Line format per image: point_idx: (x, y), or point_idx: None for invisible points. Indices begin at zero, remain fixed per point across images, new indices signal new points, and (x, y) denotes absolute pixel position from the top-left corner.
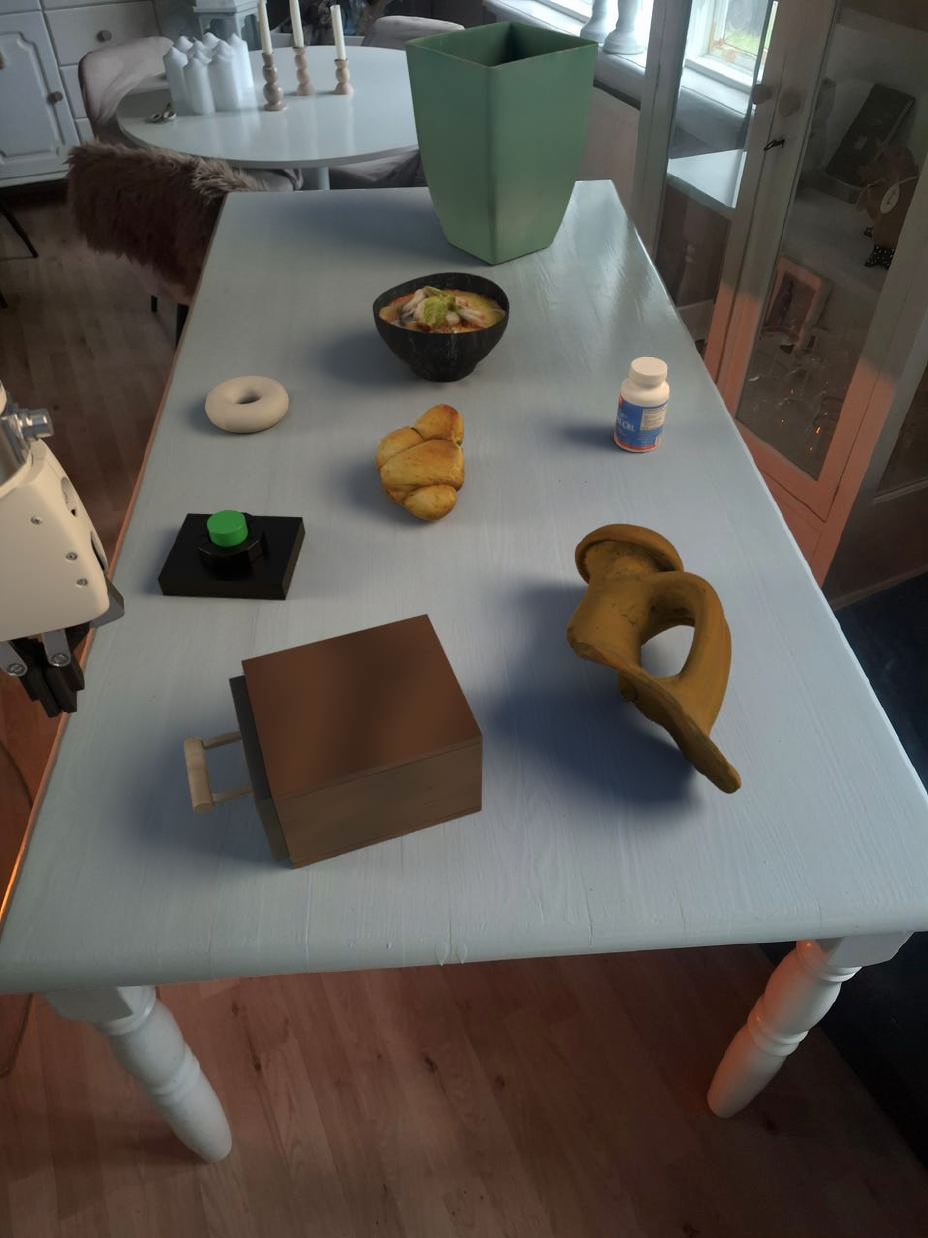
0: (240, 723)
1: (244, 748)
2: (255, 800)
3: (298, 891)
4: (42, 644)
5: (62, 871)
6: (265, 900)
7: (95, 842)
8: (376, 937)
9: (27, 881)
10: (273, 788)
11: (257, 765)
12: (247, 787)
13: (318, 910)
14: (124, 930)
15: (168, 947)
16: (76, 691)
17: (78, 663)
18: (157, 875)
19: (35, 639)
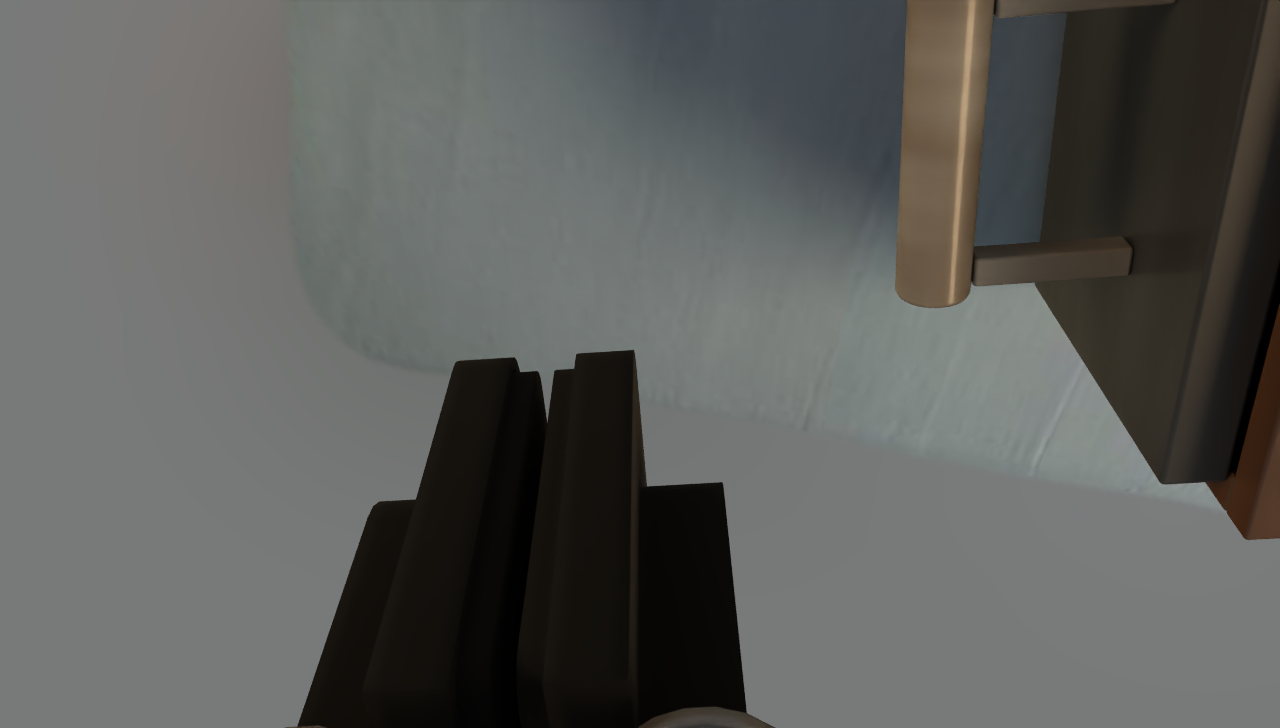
0: (1250, 122)
1: (1213, 259)
2: (1166, 483)
3: (1058, 345)
4: (495, 681)
5: (399, 121)
6: (967, 348)
7: (489, 41)
8: (1194, 491)
9: (298, 128)
10: (1264, 515)
11: (1231, 349)
12: (1109, 261)
13: (1089, 403)
14: (596, 336)
15: (706, 401)
16: (643, 454)
17: (728, 550)
18: (686, 206)
19: (437, 710)
